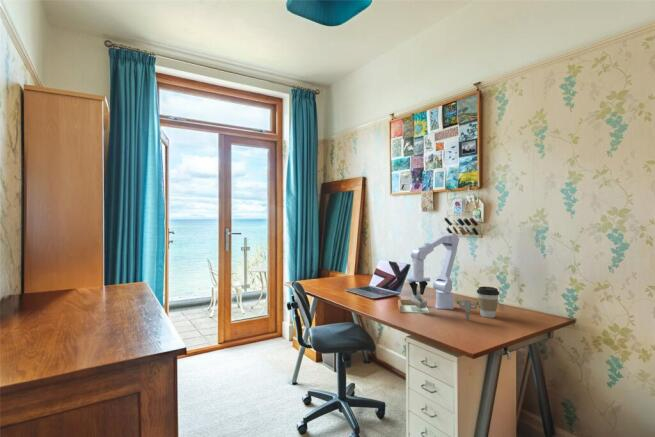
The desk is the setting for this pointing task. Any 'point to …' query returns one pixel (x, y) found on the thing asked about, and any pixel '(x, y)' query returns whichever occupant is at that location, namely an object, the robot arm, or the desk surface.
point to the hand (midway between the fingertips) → (418, 294)
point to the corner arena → (410, 307)
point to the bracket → (418, 300)
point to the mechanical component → (467, 306)
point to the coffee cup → (488, 301)
